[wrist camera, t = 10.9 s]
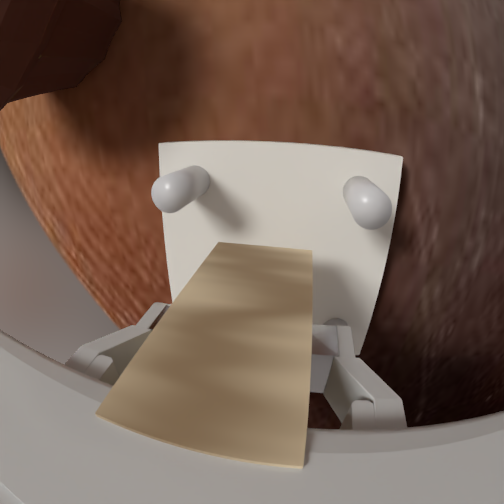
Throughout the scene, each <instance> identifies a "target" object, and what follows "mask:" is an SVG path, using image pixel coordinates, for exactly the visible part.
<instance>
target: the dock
mask: <svg viewBox="0 0 504 504" xmlns="http://www.w3.org/2000/svg"><path fill="white" fill-rule="evenodd" d="M402 162H403V157H401V156H398V155H394V154H388V153H381V152H375V151H368V150H361V149H354V148H346V147H337V146H327V145H317V144H305V143H291V142H273V141H242V140H208V141H177V142H164V143H159V168H160V177H159V178H158V179H157V180H156V181H155V182H154V184H153V186H152V199H153V202H154V204H155V205H156V206H157V207H158V208H159V209H160V210H161V211H162V215H163V227H164V238H165V247H166V256H167V265H168V273H169V281H170V288H171V295H172V302H173V301H174V300H175V299H176V297H177V296H178V295H179V293H180V292H181V291H182V289H183V288H184V287H185V285H186V284H187V283H188V281H189V280H190V279H191V277H192V276H193V275H194V273H195V272H196V271H197V269H198V268H199V267H200V265H201V264H202V263H203V261H204V260H205V259H206V257H207V256H208V255H209V254H210V252H211V251H212V250H213V248H214V247H215V246H216V244H217V243H218V242H226V243H237V244H248V245H260V246H271V247H282V248H293V249H304V250H312V259H313V316H312V324H319V325H332V326H336V325H340V326H350V327H351V330H352V337H353V343H354V350H355V355H359V354H360V351H361V349H362V346H363V343H364V340H365V336H366V333H367V330H368V327H369V324H370V320H371V317H372V314H373V310H374V307H375V303H376V300H377V296H378V292H379V288H380V284H381V281H382V277H383V272H384V268H385V264H386V259H387V255H388V250H389V246H390V241H391V236H392V230H393V225H394V219H395V213H396V207H397V201H398V194H399V187H400V179H401V171H402Z"/></svg>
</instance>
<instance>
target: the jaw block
mask: <svg viewBox="0 0 504 504" xmlns="http://www.w3.org/2000/svg"><path fill="white" fill-rule="evenodd" d="M312 316H313V259H312V250H304V249H293V248H282V247H271V246H260V245H248V244H237V243H226V242H218V243H217V244H216V246H215V247H214V248H213V250H212V251H211V252H210V254H209V255H208V256H207V257H206V259H205V260H204V261H203V263H202V264H201V265H200V267H199V268H198V269H197V271H196V272H195V273H194V275H193V276H192V277H191V279H190V280H189V281H188V283H187V284H186V285H185V287H184V288H183V289H182V291H181V292H180V293H179V295H178V296H177V297H176V299H175V300H174V301H173V303H172V304H171V306H170V307H169V308H168V310H167V311H166V312H165V314H164V315H163V316H162V318H161V319H160V321H159V322H158V323H157V325H156V326H155V327H154V329H153V330H152V332H151V333H150V334H149V336H148V337H147V339H146V340H145V341H144V343H143V344H142V346H141V347H140V348H139V350H138V351H137V353H136V354H135V355H134V357H133V358H132V360H131V361H130V363H129V364H128V365H127V367H126V368H125V370H124V371H123V373H122V374H121V376H120V377H119V378H118V380H117V381H116V383H115V384H114V386H113V387H112V389H111V390H110V392H109V393H108V395H107V396H106V397H105V399H104V400H103V402H102V403H101V405H100V406H99V408H98V409H97V411H96V412H95V414H96V416H97V417H99V418H101V419H103V420H106V421H108V422H110V423H113V424H115V425H117V426H120V427H122V428H125V429H127V430H130V431H132V432H135V433H138V434H140V435H143V436H146V437H149V438H152V439H155V440H158V441H161V442H164V443H167V444H170V445H174V446H177V447H180V448H184V449H187V450H191V451H195V452H199V453H203V454H207V455H211V456H216V457H221V458H225V459H230V460H236V461H241V462H247V463H254V464H260V465H268V466H276V467H286V468H298V469H302V468H303V465H304V456H305V446H306V435H307V423H308V410H309V395H310V377H311V354H312Z"/></svg>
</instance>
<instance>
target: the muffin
mask: <svg viewBox="0 0 504 504" xmlns="http://www.w3.org/2000/svg"><path fill="white" fill-rule="evenodd" d="M119 1H120V0H0V110H1V109H3V107H4V106H5V105H6V104H7V103H9V102H12V101H16V100H19V99H23V98H27V97H31V96H35V95H39V94H43V93H48V92H52V91H55V90H61V89H67V88H73V87H77V86H78V84H79V83H80V82H81V81H82V80H83V78H84V77H85V76H86V75H87V74H88V73H89V72H90V71H91V70H92V69H93V68H94V67H96V66H97V65H98V64H99V63H101V62H102V61H103V60H104V58H105V55H106V52H107V50H108V47H109V44H110V42H111V39H112V38H113V36H114V34H115V32H116V30H117V29H118V27H119V25H120V24H121V22H122V20H121V15H120V9H119Z"/></svg>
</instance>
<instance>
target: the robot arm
mask: <svg viewBox="0 0 504 504" xmlns="http://www.w3.org/2000/svg"><path fill="white" fill-rule="evenodd" d="M170 306H171V304H165V303H160V302H156V303H154V304H153V305H152V306H151V307H150V309H149V310H148V311H147V312H146V313H145V315H144V316H143V317H142V318H141V320H140V321H139V322H138V323H137V324H136V326H134V325H131V326H129V327H126V328H124V329H121V330H119V331H117V332H114V333H112V334H109V335H107V336H104V337H102V338H99V339H97V340H94V341H92V342H89V343H87V344H84V345H82V346H80V347H79V349H78V350H77V351H76V352H75V353H74V354H73V355H72V356H71V358H70V359H69V360H68V361H67V362H66V363H65V365H64V364H61V363H59V362H57V361H55V360H53V359H51V358H49V357H47V356H45V355H44V354H42V353H40V352H38V351H36V350H34V349H32V348H30V347H29V346H27V345H25V344H23V343H22V342H19V341H18V340H16V339H15V338H13V337H11V336H10V335H8V334H7V333H5V332H3V331H2V330H0V504H504V411H501V412H497V413H493V414H489V415H485V416H481V417H476V418H471V419H466V420H461V421H455V422H449V423H443V424H436V425H428V426H419V427H408V428H407V424H406V418H405V413H404V408H403V403H402V399H401V398H400V397H399V396H398V395H397V394H396V393H395V392H394V391H393V390H392V389H391V388H390V387H389V386H388V385H387V384H386V383H385V382H384V381H383V380H382V379H381V378H380V377H379V376H378V375H377V374H376V373H375V372H374V371H372V370H371V369H370V368H369V367H368V366H367V365H366V364H365V363H364V362H363V361H362V360H361V359H360V358H356V357H355V350H354V343H353V337H352V330H351V327H350V326H340V325H336V326H332V325H319V324H312V354H311V377H310V392H316V393H323V395H324V396H325V398H326V399H327V401H328V402H329V404H330V406H331V407H332V409H333V410H334V412H335V413H336V415H337V416H338V418H339V419H340V421H341V423H342V425H341V427H340V429H316V428H307V435H306V446H305V456H304V465H303V468H302V469H298V468H286V467H276V466H268V465H260V464H254V463H247V462H241V461H236V460H230V459H225V458H221V457H216V456H211V455H207V454H203V453H199V452H195V451H191V450H187V449H184V448H180V447H177V446H174V445H170V444H167V443H164V442H161V441H158V440H155V439H152V438H149V437H146V436H143V435H140V434H138V433H135V432H132V431H130V430H127V429H125V428H122V427H120V426H117V425H115V424H113V423H110V422H108V421H106V420H103V419H101V418H99V417H97V416H96V414H95V412H96V411H97V409H98V408H99V406H100V405H101V403H102V402H103V400H104V399H105V397H106V396H107V395H108V393H109V392H110V390H111V389H112V387H113V386H114V384H115V383H116V381H117V380H118V378H119V377H120V376H121V374H122V373H123V371H124V370H125V368H126V367H127V365H128V364H129V363H130V361H131V360H132V358H133V357H134V355H135V354H136V353H137V351H138V350H139V348H140V347H141V346H142V344H143V343H144V341H145V340H146V339H147V337H148V336H149V334H150V333H151V332H152V330H153V329H154V327H155V326H156V325H157V323H158V322H159V321H160V319H161V318H162V316H163V315H164V314H165V312H166V311H167V310H168V308H169V307H170Z"/></svg>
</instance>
